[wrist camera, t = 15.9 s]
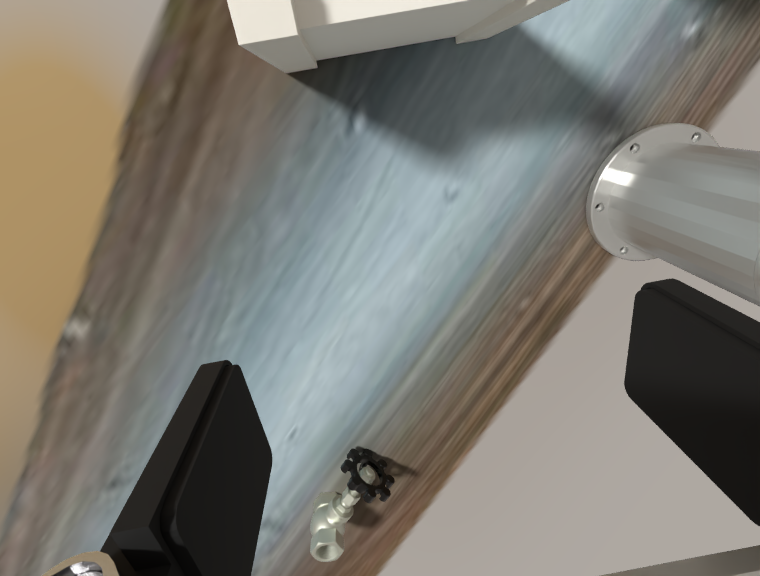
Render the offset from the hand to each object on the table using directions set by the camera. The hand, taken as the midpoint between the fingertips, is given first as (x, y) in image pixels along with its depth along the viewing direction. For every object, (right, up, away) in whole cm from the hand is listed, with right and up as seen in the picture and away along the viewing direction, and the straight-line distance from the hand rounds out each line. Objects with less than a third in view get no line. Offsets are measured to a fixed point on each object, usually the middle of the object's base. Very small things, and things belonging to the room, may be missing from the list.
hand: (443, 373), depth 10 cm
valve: (-6, -22, +41) cm, 47 cm away
